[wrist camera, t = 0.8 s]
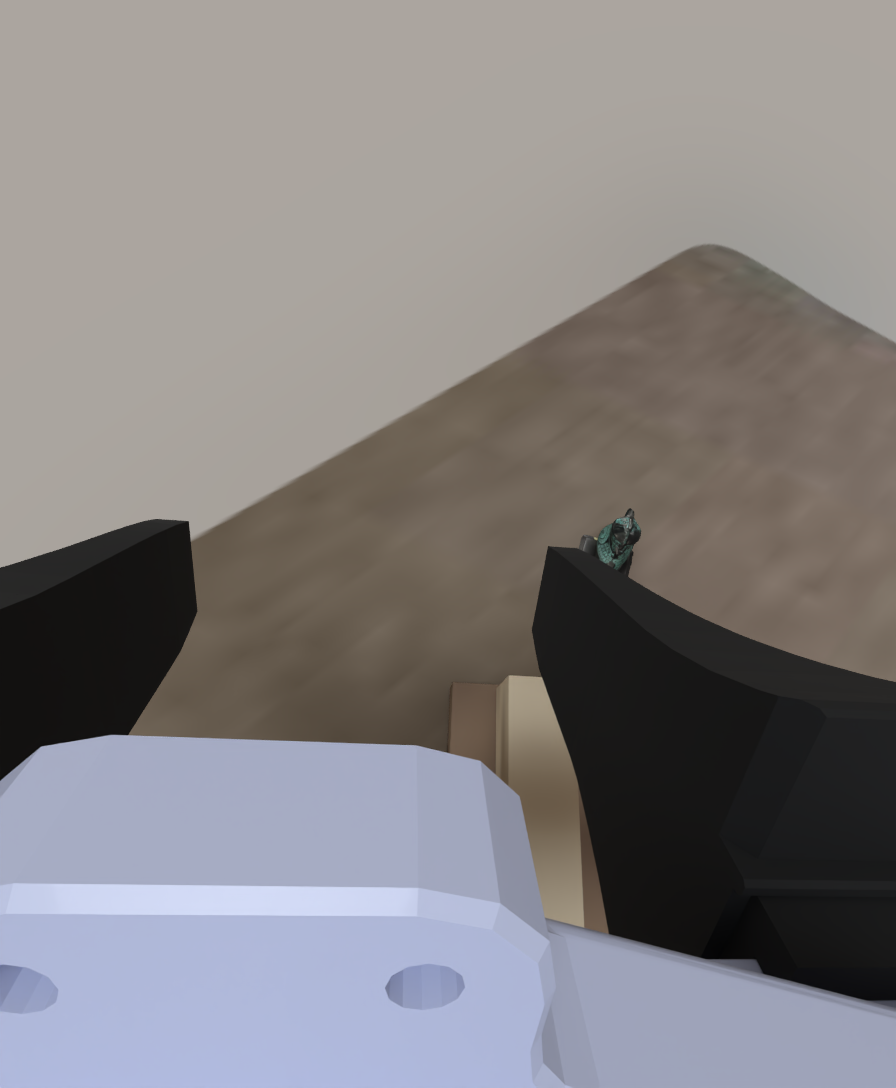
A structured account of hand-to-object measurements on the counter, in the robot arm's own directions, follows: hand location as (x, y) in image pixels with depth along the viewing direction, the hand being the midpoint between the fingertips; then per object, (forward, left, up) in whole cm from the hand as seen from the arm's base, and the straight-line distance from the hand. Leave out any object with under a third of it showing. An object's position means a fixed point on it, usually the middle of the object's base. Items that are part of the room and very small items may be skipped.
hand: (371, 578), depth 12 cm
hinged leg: (-6, -6, -13) cm, 15 cm away
